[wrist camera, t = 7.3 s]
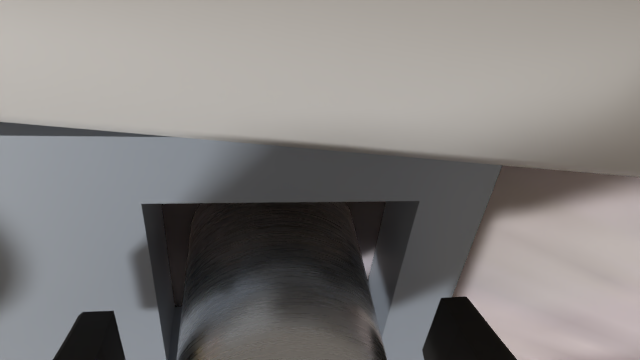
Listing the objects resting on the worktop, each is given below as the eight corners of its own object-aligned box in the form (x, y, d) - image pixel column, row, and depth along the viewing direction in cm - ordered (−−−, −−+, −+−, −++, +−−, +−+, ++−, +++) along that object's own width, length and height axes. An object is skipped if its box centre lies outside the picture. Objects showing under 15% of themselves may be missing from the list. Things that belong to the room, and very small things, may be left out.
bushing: (349, 280, 16) (406, 552, 10) (202, 294, 15) (181, 584, 10) (356, 164, 13) (439, 450, 8) (177, 176, 13) (130, 490, 7)
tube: (1298, -41, 8) (-1606, -903, 2) (1089, 266, 10) (-924, 159, 4) (885, -28, 13) (-391, -308, 7) (793, 173, 15) (-304, 68, 9)
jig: (403, 327, 18) (419, 382, 16) (-243, 358, 15) (-299, 428, 13) (477, 91, 12) (512, 140, 10) (-536, 68, 9) (-694, 129, 8)
